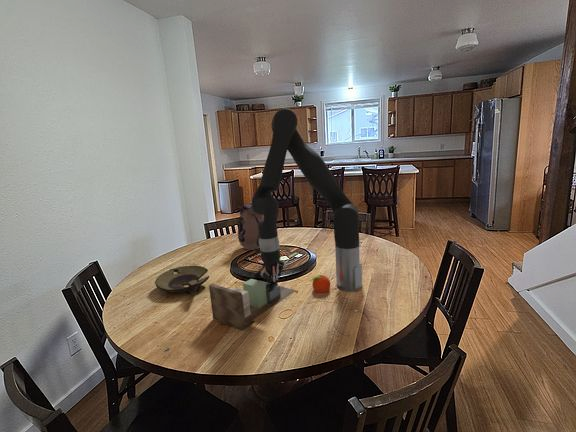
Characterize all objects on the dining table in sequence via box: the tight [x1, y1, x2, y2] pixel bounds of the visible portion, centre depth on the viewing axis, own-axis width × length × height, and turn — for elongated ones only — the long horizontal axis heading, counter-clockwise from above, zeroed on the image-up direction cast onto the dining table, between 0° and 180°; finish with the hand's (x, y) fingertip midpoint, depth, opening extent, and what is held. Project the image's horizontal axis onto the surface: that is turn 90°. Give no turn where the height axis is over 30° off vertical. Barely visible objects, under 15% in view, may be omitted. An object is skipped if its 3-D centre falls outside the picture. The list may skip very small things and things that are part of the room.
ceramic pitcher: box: [237, 203, 264, 251], centre depth 182 cm, size 18×21×25 cm
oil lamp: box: [154, 265, 210, 293], centre depth 135 cm, size 22×30×8 cm
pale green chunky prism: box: [242, 278, 267, 308], centre depth 115 cm, size 7×4×8 cm, turn 53°
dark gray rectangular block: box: [261, 280, 281, 304], centre depth 120 cm, size 10×6×4 cm, turn 53°
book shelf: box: [208, 283, 297, 332], centre depth 116 cm, size 14×30×13 cm, turn 143°
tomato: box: [310, 274, 331, 294], centre depth 123 cm, size 8×7×7 cm
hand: (274, 288), depth 125 cm, fingers closed
